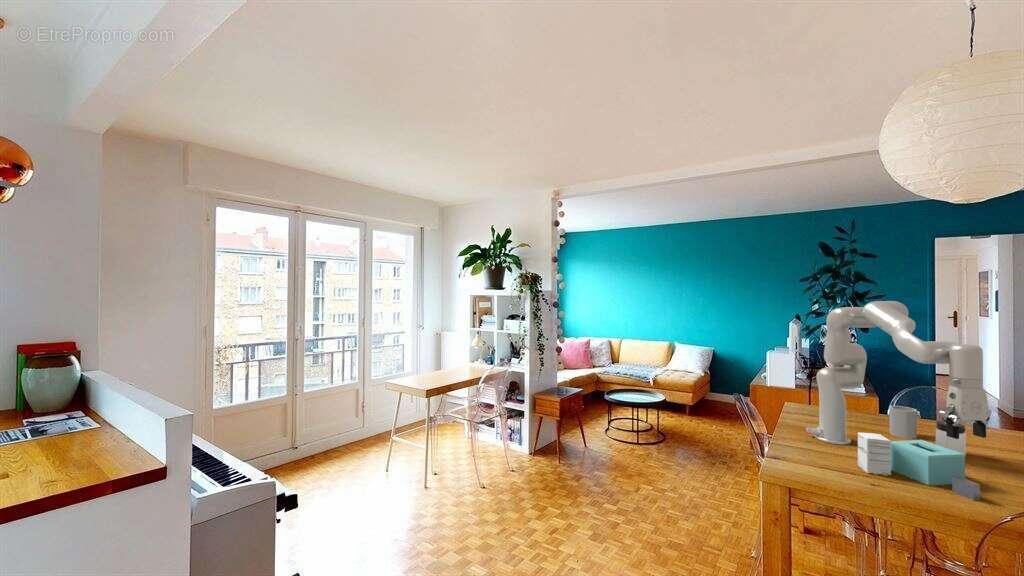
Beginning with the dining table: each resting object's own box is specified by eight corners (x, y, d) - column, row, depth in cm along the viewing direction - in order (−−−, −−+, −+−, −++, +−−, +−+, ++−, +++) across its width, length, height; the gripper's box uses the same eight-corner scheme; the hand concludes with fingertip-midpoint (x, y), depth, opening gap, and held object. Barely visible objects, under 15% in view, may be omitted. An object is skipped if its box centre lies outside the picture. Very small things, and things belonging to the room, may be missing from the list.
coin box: (928, 485, 146) (928, 455, 146) (887, 468, 160) (887, 441, 160) (965, 483, 148) (965, 454, 148) (922, 466, 161) (922, 439, 161)
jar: (962, 459, 169) (962, 428, 169) (933, 452, 175) (933, 423, 175) (968, 454, 173) (968, 424, 174) (940, 448, 180) (940, 419, 180)
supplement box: (857, 465, 163) (856, 431, 163) (880, 468, 160) (880, 433, 160) (866, 473, 155) (866, 438, 156) (891, 476, 153) (891, 440, 153)
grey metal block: (973, 500, 136) (973, 484, 136) (952, 491, 142) (952, 476, 142) (979, 500, 136) (979, 484, 136) (958, 491, 142) (958, 476, 142)
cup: (888, 430, 203) (888, 404, 203) (915, 434, 198) (915, 407, 198) (891, 435, 196) (891, 409, 196) (918, 439, 191) (918, 412, 191)
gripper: (955, 386, 135) (955, 442, 134) (1003, 385, 137) (1004, 440, 136) (929, 381, 142) (929, 434, 142) (975, 380, 144) (976, 432, 144)
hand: (966, 436), depth 139 cm, fingers open, 9 cm apart
